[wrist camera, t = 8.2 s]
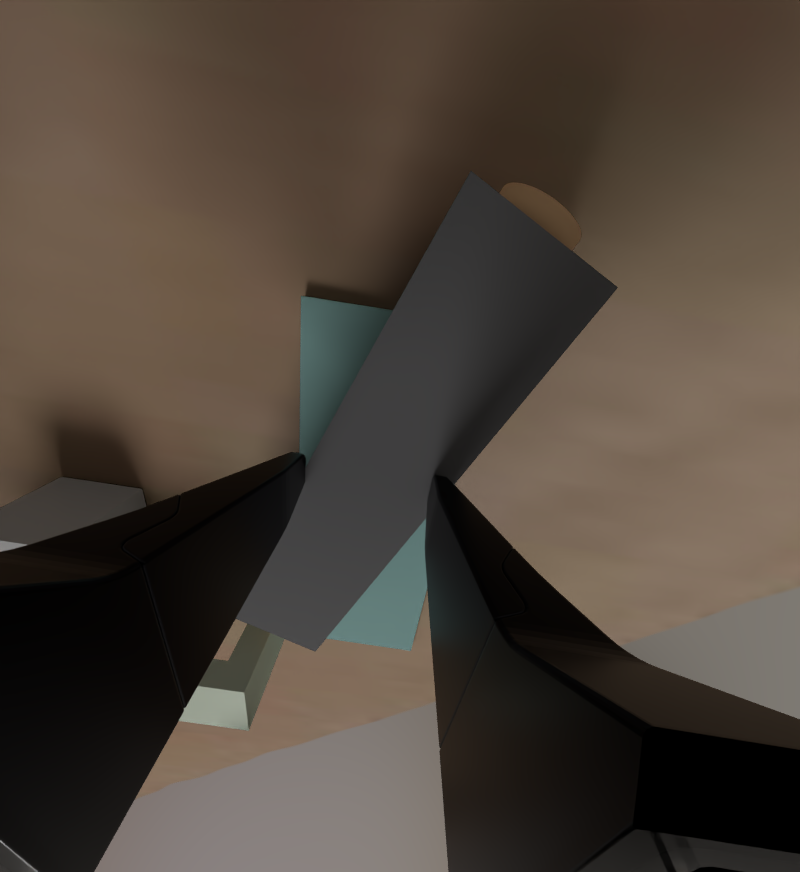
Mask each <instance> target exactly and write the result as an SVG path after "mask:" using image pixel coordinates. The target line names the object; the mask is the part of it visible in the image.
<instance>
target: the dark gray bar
mask: <svg viewBox="0 0 800 872" xmlns="http://www.w3.org/2000/svg"><path fill="white" fill-rule="evenodd" d="M580 239H581V229H580V227H579V225H578V223H577V221H576V220H575V218H574V217H573V216H572V215H571V213H570V212H569V211H568V210H567V209H566V208H565V207H564V206H563V205H561V204H560V203H559V202H558V201H557V200H555V199H554V198H552V197H551V196H549V195H548V194H546V193H545V192H543V191H541V190H539V189H537V188H535V187H532V186H530V185H527V184H523V183H517V182H511V183H507V184H505V185H504V186H503V188H502V189H501V191H500V193H498V192H497V191H496V190H494V189H493V188H492V187H491V186H489V185H488V184H487V183H486V182H484V181H483V180H482V179H481V178H479V177H478V176H477V175H476V174H474V173H473V172H472V171H470V173H469V175H468V177H467V179H466V180H465V182H464V184H463V186H462V188H461V189H460V191H459V193H458V195H457V197H456V198H455V200H454V202H453V204H452V206H451V207H450V209H449V211H448V213H447V214H446V216H445V218H444V220H443V222H442V223H441V225H440V227H439V229H438V231H437V232H436V234H435V236H434V238H433V240H432V241H431V243H430V245H429V247H428V249H427V250H426V252H425V254H424V256H423V258H422V259H421V261H420V263H419V265H418V267H417V268H416V270H415V272H414V274H413V275H412V277H411V279H410V281H409V283H408V284H407V286H406V288H405V290H404V292H403V293H402V295H401V297H400V299H399V301H398V302H397V304H396V306H395V308H394V310H393V311H392V313H391V315H390V317H389V319H388V320H387V322H386V324H385V326H384V328H383V329H382V331H381V333H380V335H379V336H378V338H377V340H376V342H375V344H374V345H373V347H372V349H371V351H370V353H369V354H368V356H367V358H366V360H365V362H364V363H363V365H362V367H361V369H360V371H359V372H358V374H357V376H356V378H355V380H354V381H353V383H352V385H351V387H350V388H349V390H348V392H347V394H346V396H345V397H344V399H343V401H342V403H341V405H340V406H339V408H338V410H337V412H336V414H335V415H334V417H333V419H332V421H331V423H330V424H329V426H328V428H327V430H326V432H325V433H324V435H323V437H322V439H321V441H320V442H319V444H318V446H317V448H316V449H315V451H314V453H313V455H312V457H311V458H310V460H309V462H308V464H307V466H306V467H305V483H304V486H303V489H302V491H301V494H300V496H299V499H298V501H297V504H296V506H295V508H294V511H293V513H292V516H291V518H290V521H289V523H288V525H287V527H286V529H285V531H284V533H283V535H282V537H281V539H280V540H279V542H278V544H277V546H276V548H275V549H274V551H273V553H272V555H271V556H270V558H269V560H268V562H267V564H266V565H265V567H264V569H263V571H262V572H261V574H260V576H259V578H258V580H257V581H256V583H255V585H254V587H253V589H252V590H251V592H250V594H249V596H248V597H247V599H246V601H245V603H244V605H243V606H242V608H241V610H240V612H239V614H238V615H237V617H236V619H238V620H240V621H242V622H245V623H247V624H250V625H252V626H255V627H257V628H259V629H262V630H264V631H267V632H269V633H272V634H274V635H276V636H279V637H281V638H284V639H286V640H289V641H291V642H293V643H296V644H298V645H301V646H303V647H305V648H308V649H310V650H313V651H316V650H317V649H318V648H319V646H320V645H321V644H322V643H323V642H324V640H325V639H326V638H327V637H328V636H329V634H330V633H331V632H332V631H333V630H334V628H335V627H336V626H337V625H338V624H339V622H340V621H341V620H342V619H343V618H344V616H345V615H346V614H347V613H348V612H349V610H350V609H351V608H352V607H353V606H354V604H355V603H356V602H357V601H358V600H359V598H360V597H361V596H362V595H363V594H364V592H365V591H366V590H367V589H368V588H369V586H370V585H371V584H372V583H373V582H374V580H375V579H376V578H377V577H378V575H379V574H380V573H381V572H382V571H383V569H384V568H385V567H386V566H387V565H388V563H389V562H390V561H391V560H392V559H393V557H394V556H395V555H396V554H397V553H398V551H399V550H400V549H401V548H402V547H403V545H404V544H405V543H406V542H407V541H408V539H409V538H410V537H411V536H412V535H413V533H414V532H415V531H416V530H417V529H418V527H419V526H420V525H421V524H422V523H423V521H424V520H425V519H426V512H427V500H428V495H429V491H430V486H431V482H432V478H433V476H434V475H439V476H445V477H447V478H448V479H449V480H450V481H451V482H452V483H453V484H455V483H456V482H457V480H458V479H459V478H460V477H461V476H462V474H463V473H464V472H465V471H466V470H467V468H468V467H469V466H470V465H471V464H472V462H473V461H474V460H475V459H476V458H477V456H478V455H479V454H480V453H481V452H482V450H483V449H484V448H485V447H486V446H487V444H488V443H489V442H490V441H491V440H492V438H493V437H494V436H495V435H496V434H497V432H498V431H499V430H500V429H501V428H502V426H503V425H504V424H505V423H506V421H507V420H508V419H509V418H510V417H511V415H512V414H513V413H514V412H515V411H516V409H517V408H518V407H519V406H520V405H521V403H522V402H523V401H524V400H525V399H526V397H527V396H528V395H529V394H530V393H531V391H532V390H533V389H534V388H535V387H536V385H537V384H538V383H539V382H540V381H541V379H542V378H543V377H544V376H545V375H546V373H547V372H548V371H549V370H550V369H551V367H552V366H553V365H554V364H555V363H556V361H557V360H558V359H559V358H560V357H561V355H562V354H563V353H564V352H565V351H566V349H567V348H568V347H569V346H570V344H571V343H572V342H573V341H574V340H575V338H576V337H577V336H578V335H579V334H580V332H581V331H582V330H583V329H584V328H585V326H586V325H587V324H588V323H589V322H590V320H591V319H592V318H593V317H594V316H595V314H596V313H597V312H598V311H599V310H600V308H601V307H602V306H603V305H604V304H605V302H606V301H607V300H608V299H609V298H610V296H611V295H612V294H613V293H614V292H615V290H616V289H617V288H618V287H617V286H615V285H614V284H613V283H611V282H610V281H609V280H608V279H606V278H605V277H604V276H603V275H601V274H600V273H599V272H598V271H596V270H595V269H594V268H593V267H591V266H590V265H589V264H588V263H586V262H585V261H584V260H583V259H581V258H580V257H579V256H577V255H576V254H575V253H574V252H572V250H573V249H574V248H575V246H576V245H577V243H578V242H579V241H580Z"/></svg>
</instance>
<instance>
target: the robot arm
mask: <svg viewBox="0 0 800 872" xmlns="http://www.w3.org/2000/svg"><path fill="white" fill-rule="evenodd" d="M305 467H306V457H305V455H304V454H301V453H295V452H290V453H287V454H285V455H282V456H279V457H277V458H274V459H272V460H269V461H266V462H264V463H261V464H258V465H256V466H253V467H250V468H248V469H245V470H242V471H240V472H237V473H234V474H232V475H229V476H227V477H224V478H221V479H219V480H216V481H213V482H211V483H208V484H205V485H203V486H200V487H197V488H195V489H192V490H190V491H187V492H184V493H182V494H181V495H176V496H173V497H171V498H168V499H166V500H163V501H160V502H157V503H155V504H152V505H149V506H146V507H144V508H141V509H138V510H135V511H132V512H129V513H126V514H123V515H120V516H117V517H114V518H111V519H108V520H105V521H101V522H98V523H95V524H92V525H89V526H86V527H83V528H79V529H76V530H73V531H70V532H67V533H64V534H61V535H57V536H54V537H51V538H48V539H45V540H42V541H39V542H35V543H32V544H29V545H26V546H22V547H19V548H15V549H11V550H6V551H1V552H0V872H94V871H95V869H96V867H97V866H98V864H99V862H100V860H101V858H102V857H103V855H104V853H105V851H106V850H107V848H108V846H109V844H110V842H111V841H112V839H113V837H114V835H115V833H116V832H117V830H118V828H119V826H120V825H121V823H122V821H123V819H124V817H125V816H126V813H127V812H128V810H129V808H130V807H131V805H132V803H133V801H134V800H135V798H136V796H137V794H138V792H139V791H140V789H141V787H142V785H143V783H144V782H145V780H146V778H147V776H148V775H149V773H150V771H151V769H152V767H153V766H154V764H155V762H156V760H157V758H158V757H159V755H160V753H161V751H162V750H163V748H164V746H165V744H166V742H167V741H168V739H169V737H170V735H171V733H172V732H173V730H174V728H175V726H176V725H177V723H178V721H179V719H180V717H181V716H182V714H183V712H184V708H185V707H186V706H187V704H188V703H189V701H190V699H191V697H192V696H193V694H194V692H195V690H196V688H197V687H198V685H199V683H200V681H201V680H202V678H203V676H204V674H205V672H206V671H207V669H208V667H209V665H210V663H211V662H212V660H213V658H214V656H215V655H216V653H217V651H218V649H219V647H220V646H221V644H222V642H223V640H224V638H225V637H226V635H227V633H228V631H229V630H230V628H231V626H232V624H233V622H234V621H235V619H236V617H237V615H238V614H239V612H240V610H241V608H242V606H243V605H244V603H245V601H246V599H247V597H248V596H249V594H250V592H251V590H252V589H253V587H254V585H255V583H256V581H257V580H258V578H259V576H260V574H261V572H262V571H263V569H264V567H265V565H266V564H267V562H268V560H269V558H270V556H271V555H272V553H273V551H274V549H275V548H276V546H277V544H278V542H279V540H280V539H281V537H282V535H283V533H284V531H285V529H286V527H287V525H288V523H289V521H290V518H291V516H292V513H293V511H294V508H295V506H296V504H297V501H298V499H299V496H300V494H301V491H302V489H303V486H304V483H305ZM425 563H426V576H427V589H428V603H429V616H430V629H431V643H432V656H433V669H434V682H435V696H436V709H437V722H438V735H439V746H440V748H441V749H440V764H441V777H442V789H443V803H444V816H445V830H446V844H447V857H448V870H449V872H800V719H797V718H795V717H792V716H789V715H786V714H784V713H781V712H778V711H775V710H773V709H770V708H767V707H764V706H761V705H759V704H756V703H753V702H751V701H748V700H745V699H742V698H740V697H737V696H734V695H732V694H729V693H726V692H723V691H721V690H718V689H715V688H712V687H710V686H707V685H704V684H701V683H699V682H696V681H693V680H690V679H688V678H685V677H682V676H679V675H676V674H674V673H671V672H669V671H666V670H663V669H660V668H658V667H655V666H652V665H650V664H648V663H646V662H644V661H642V660H640V659H638V658H637V657H635V656H633V655H632V654H630V653H628V652H627V651H626V650H624V649H623V648H621V647H620V646H619V645H617V644H616V643H615V642H614V641H613V640H611V639H610V638H609V637H608V636H607V635H606V634H604V633H603V632H602V631H601V630H600V629H599V628H598V627H597V626H596V625H595V624H593V623H592V622H591V621H590V620H589V619H588V618H587V617H586V616H585V615H583V614H582V613H581V612H580V611H579V610H578V609H577V608H576V607H575V606H573V605H572V604H571V603H570V602H569V601H568V600H567V599H566V598H565V597H564V596H562V595H561V594H560V593H559V592H558V591H557V590H556V589H555V588H554V587H553V586H552V585H551V584H549V583H548V582H547V581H546V580H545V579H544V578H543V577H542V576H541V575H540V574H539V573H538V572H537V571H536V570H535V569H534V568H533V567H532V566H531V565H530V564H529V563H528V562H527V561H526V560H525V559H524V558H523V557H522V556H521V555H520V554H519V553H518V552H517V551H516V549H514V548H513V547H512V545H511V544H510V543H509V542H508V541H507V540H506V539H505V538H504V537H503V536H502V535H501V534H500V533H499V532H498V530H497V529H496V528H495V527H494V526H493V525H492V524H491V523H490V522H489V521H488V520H487V519H486V518H485V517H484V516H483V515H482V514H481V512H480V511H479V510H478V509H477V508H476V507H475V506H474V505H473V504H472V503H471V502H470V501H469V500H468V499H467V498H466V497H465V495H464V494H463V493H462V492H461V491H460V490H459V489H458V488H457V487H456V486H455V485H454V484H453V483H452V482H451V481H450V480H449V479H448V478H447V477H445V476H439V475H434V476H433V478H432V482H431V486H430V491H429V495H428V500H427V512H426V530H425Z"/></svg>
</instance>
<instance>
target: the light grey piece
mask: <svg viewBox="0 0 800 872" xmlns="http://www.w3.org/2000/svg"><path fill="white" fill-rule="evenodd" d="M283 641H284V638H281V637H279V636H276V635H274V634H272V633H269V632H267V631H264V630H262V629H259V628H257V627H255V626H252V625H250V624H247V626H246V628H245V630H244V632H243V634H242V635H241V637H240V639H239V641H238V643H237V645H236V647H235V649H234V651H233V653H232V655H231V657H230V659H229V660H228V661H224V660H217V659H213V660H212V662H211V663H210V665H209V667H208V669H207V671H206V672H205V674H204V676H203V678H202V680H201V681H200V683H199V685H198V687H197V688H196V690H195V692H194V694H193V696H192V697H191V699H190V701H189V703H188V704H187V706H186V707H185V708H184V712H183V714H182V716H181V717H180V719H179V721H184V722H191V723H198V724H206V725H213V726H220V727H227V728H234V729H241V730H248V731H249V729H250V726H251V723H252V721H253V718H254V716H255V713H256V711H257V708H258V705H259V703H260V700H261V698H262V695H263V693H264V690H265V687H266V685H267V682H268V680H269V677H270V675H271V672H272V669H273V667H274V664H275V662H276V659H277V657H278V654H279V651H280V649H281V646H282V644H283Z"/></svg>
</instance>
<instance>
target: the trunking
mask: <svg viewBox="0 0 800 872" xmlns="http://www.w3.org/2000/svg"><path fill="white" fill-rule="evenodd" d="M144 507H146V503H145V499H144V495H143V490H142V489H139V488H133V487H126V486H119V485H113V484H106V483H100V482H93V481H86V480H80V479H73V478H66V477H60V478H58V479H56V480H54V481H52V482H50V483H48V484H46V485H44V486H42V487H40V488H38V489H36V490H34V491H32V492H30V493H28V494H26V495H24V496H22V497H20V498H18V499H16V500H15V501H13V502H11V503H9V504H7V505H5V506H3V507H1V508H0V552H1V551H6V550H11V549H15V548H19V547H22V546H26V545H29V544H32V543H35V542H39V541H42V540H45V539H48V538H51V537H54V536H57V535H61V534H64V533H67V532H70V531H73V530H76V529H79V528H83V527H86V526H89V525H92V524H95V523H98V522H101V521H105V520H108V519H111V518H114V517H117V516H120V515H123V514H126V513H129V512H132V511H135V510H138V509H141V508H144Z"/></svg>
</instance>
